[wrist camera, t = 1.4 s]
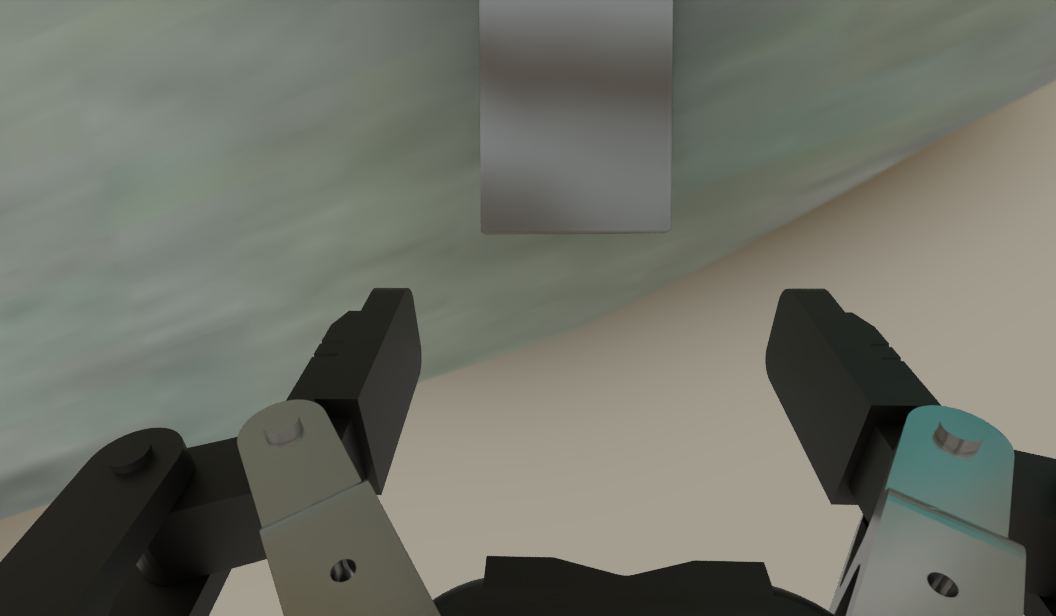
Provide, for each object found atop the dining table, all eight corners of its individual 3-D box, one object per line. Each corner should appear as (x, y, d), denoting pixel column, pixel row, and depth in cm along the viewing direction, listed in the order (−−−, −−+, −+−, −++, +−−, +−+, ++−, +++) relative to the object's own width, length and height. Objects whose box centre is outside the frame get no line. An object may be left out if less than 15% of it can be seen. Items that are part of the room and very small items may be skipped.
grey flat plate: (483, -85, 25) (478, -110, 23) (666, -91, 24) (674, -117, 23) (485, 234, 26) (481, 231, 24) (663, 233, 25) (670, 230, 24)
